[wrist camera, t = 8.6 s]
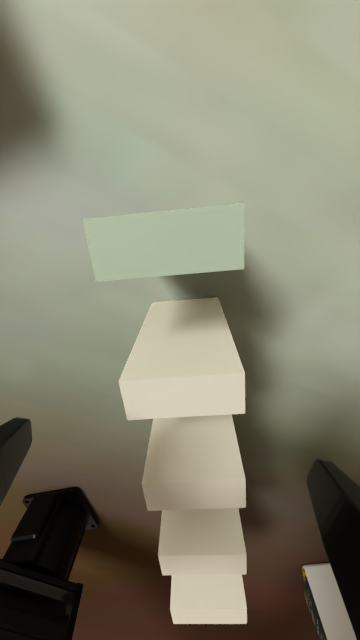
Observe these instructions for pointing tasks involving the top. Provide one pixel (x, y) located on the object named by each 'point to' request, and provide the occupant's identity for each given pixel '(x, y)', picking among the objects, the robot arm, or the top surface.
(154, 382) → the tile
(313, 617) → the white block with post
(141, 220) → the tile
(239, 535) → the tile
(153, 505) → the tile
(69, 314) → the top surface
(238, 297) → the top surface
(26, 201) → the top surface
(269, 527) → the top surface
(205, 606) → the tile
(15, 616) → the robot arm
